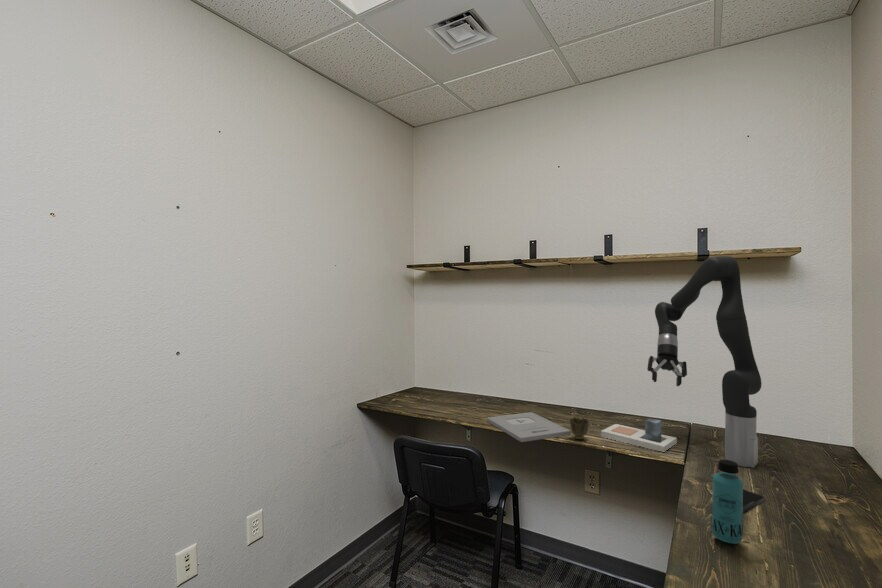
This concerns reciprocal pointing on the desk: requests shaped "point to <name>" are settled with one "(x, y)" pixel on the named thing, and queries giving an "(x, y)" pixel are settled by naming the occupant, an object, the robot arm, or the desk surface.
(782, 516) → the desk surface
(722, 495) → the beverage bottle
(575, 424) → the dark brown textured piece
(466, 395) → the desk surface
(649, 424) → the blue block
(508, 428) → the award plaque
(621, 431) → the puzzle board
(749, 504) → the phone
